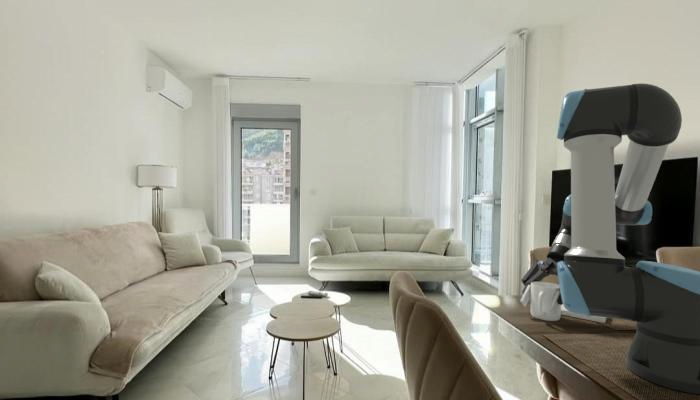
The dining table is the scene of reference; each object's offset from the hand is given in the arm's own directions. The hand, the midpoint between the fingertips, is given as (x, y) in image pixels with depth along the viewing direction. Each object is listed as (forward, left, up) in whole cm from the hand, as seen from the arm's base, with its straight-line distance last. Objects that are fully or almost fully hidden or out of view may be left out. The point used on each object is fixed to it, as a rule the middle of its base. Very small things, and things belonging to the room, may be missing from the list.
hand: (536, 307), depth 107 cm
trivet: (+18, -9, -4) cm, 21 cm away
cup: (+3, -1, -4) cm, 5 cm away
